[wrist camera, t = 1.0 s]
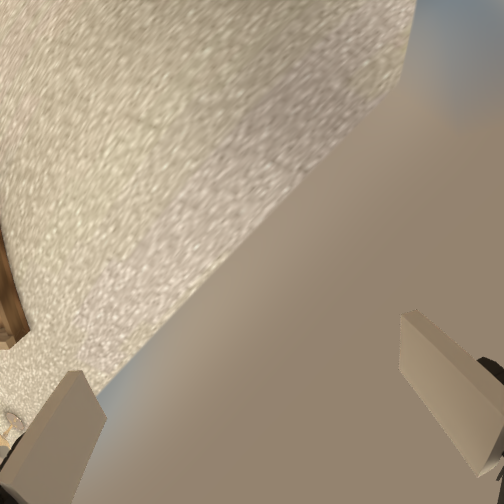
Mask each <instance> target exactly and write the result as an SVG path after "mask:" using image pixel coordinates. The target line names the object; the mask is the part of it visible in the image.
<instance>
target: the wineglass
mask: <svg viewBox="0 0 504 504" xmlns="http://www.w3.org/2000/svg"><path fill="white" fill-rule="evenodd" d="M6 416H7V419H8V421H9V422H10V423H11V425H10V427H9V428H8V429H7V430H6V431H5V432H4V433H3V436H2V435H1V434H0V465H1V463H2V461H3V460H4V458H5V457H7V454H8V452H9V450H11V449H10V445H9V443H8V441H7V440H6V439H5V438H6V437H7V436H8V433H9V431H10V429H11V428H12V427H13V426H14V427H15V428H17V429H20V430H22V429H23V428H24V426H23V423H22V422H21V420H20V419H19V418H18V417H17V416H15V415H14V414H12V413H7V415H6Z"/></svg>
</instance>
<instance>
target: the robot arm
mask: <svg viewBox="0 0 504 504" xmlns="http://www.w3.org/2000/svg"><path fill="white" fill-rule="evenodd" d="M400 333H401V334H400V358H399V371H400V372H401V373H402V374H403V376H404V377H405V378H406V380H407V381H408V382H409V384H410V385H411V386H412V388H413V389H414V390H415V392H416V393H417V394H418V395H419V397H420V398H421V400H422V401H423V402H424V404H425V405H426V406H427V408H428V409H429V410H430V412H431V413H432V414H433V416H434V417H435V418H436V420H437V421H438V423H439V424H440V425H441V427H442V428H443V430H444V431H445V432H446V434H447V435H448V436H449V438H450V439H451V441H452V442H453V443H454V445H455V446H456V448H457V449H458V450H459V452H460V453H461V455H462V456H463V457H464V459H465V461H466V462H467V463H468V465H469V466H470V468H471V469H472V471H473V472H474V474H475V475H476V477H477V478H478V477H479V476H481V475H483V474H485V473H486V472H488V471H490V470H491V469H493V468H494V467H496V465H497V463H498V462H499V460H500V458H501V456H503V457H504V369H503V368H502V367H501V366H500V365H499V364H498V363H497V362H495V361H493V360H490V359H488V358H485V357H482V358H480V359H478V360H475V359H474V358H473V357H472V356H471V355H470V354H469V353H468V352H466V351H465V350H464V349H463V348H462V347H461V346H460V345H458V344H457V343H456V342H455V341H454V340H453V339H451V338H450V337H449V336H448V335H447V334H446V333H444V332H443V331H442V330H441V329H440V328H438V327H437V326H436V325H435V324H434V323H433V322H432V321H430V320H429V319H428V318H427V317H426V316H424V315H423V314H422V313H421V312H419V311H418V310H417V309H416V310H413V311H410V312H407V313H404V314H401V332H400ZM106 420H107V417H106V415H105V413H104V412H103V410H102V408H101V407H100V405H99V403H98V401H97V399H96V397H95V395H94V393H93V391H92V389H91V387H90V385H89V383H88V381H87V379H86V377H85V375H84V373H83V371H82V370H78V371H68V372H67V374H66V375H65V376H64V378H63V379H62V380H61V382H60V383H59V385H58V386H57V387H56V389H55V390H54V392H53V393H52V394H51V396H50V397H49V399H48V400H47V401H46V403H45V404H44V406H43V407H42V409H41V410H40V411H39V413H38V414H37V416H36V417H35V419H34V420H33V422H32V423H31V425H30V426H29V428H28V429H27V431H26V432H25V433H23V434H22V435H21V436H20V437H19V438H18V439H17V440H16V441H15V443H14V444H13V446H12V447H11V450H9V452H8V454H7V457H5V458H4V460H3V461H2V463H1V465H0V504H71V503H72V500H73V498H74V495H75V493H76V490H77V487H78V485H79V483H80V480H81V478H82V475H83V473H84V471H85V468H86V466H87V463H88V460H89V459H90V456H91V454H92V452H93V449H94V447H95V445H96V442H97V440H98V438H99V436H100V433H101V431H102V429H103V427H104V424H105V422H106ZM502 475H503V477H502ZM501 477H502V483H501V488H500V493H499V498H498V503H497V504H504V466H503V468H502V470H501V472H500V473H499V475H498V477H497V479H496V480H497V481H499V480H500V478H501Z"/></svg>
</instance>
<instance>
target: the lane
mask: <svg viewBox="0 0 504 504" xmlns="http://www.w3.org/2000/svg"><path fill="white" fill-rule="evenodd" d="M29 331H30V329H29V326H28V323H27V321H26V318H25V315H24V312H23V309H22V306H21V303H20V300H19V297H18V294H17V291H16V288H15V284H14V281H13V278H12V274H11V270H10V267H9V263H8V259H7V255H6V251H5V247H4V242H3V238H2V233H1V228H0V350H9V349H10V348H11V347H12V346H14V345H15V344H16V343H17V342H18V341H19V340H20V339H21V338H22V337H24V336H25V335H26V334H27V333H28V332H29Z"/></svg>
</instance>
